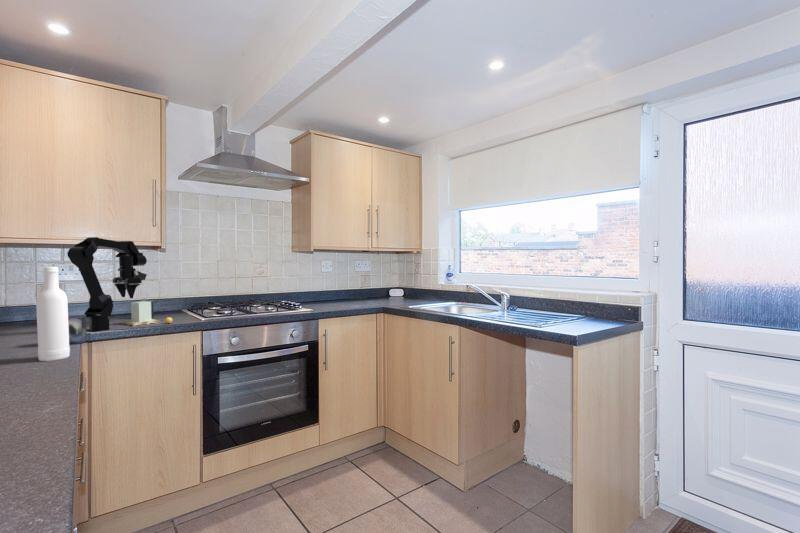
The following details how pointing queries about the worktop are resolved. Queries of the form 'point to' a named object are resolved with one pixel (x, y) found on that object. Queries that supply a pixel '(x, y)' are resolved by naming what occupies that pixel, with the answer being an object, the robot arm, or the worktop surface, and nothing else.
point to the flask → (151, 307)
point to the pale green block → (141, 311)
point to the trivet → (140, 322)
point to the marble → (168, 320)
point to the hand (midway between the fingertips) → (127, 297)
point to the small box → (77, 329)
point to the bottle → (52, 319)
